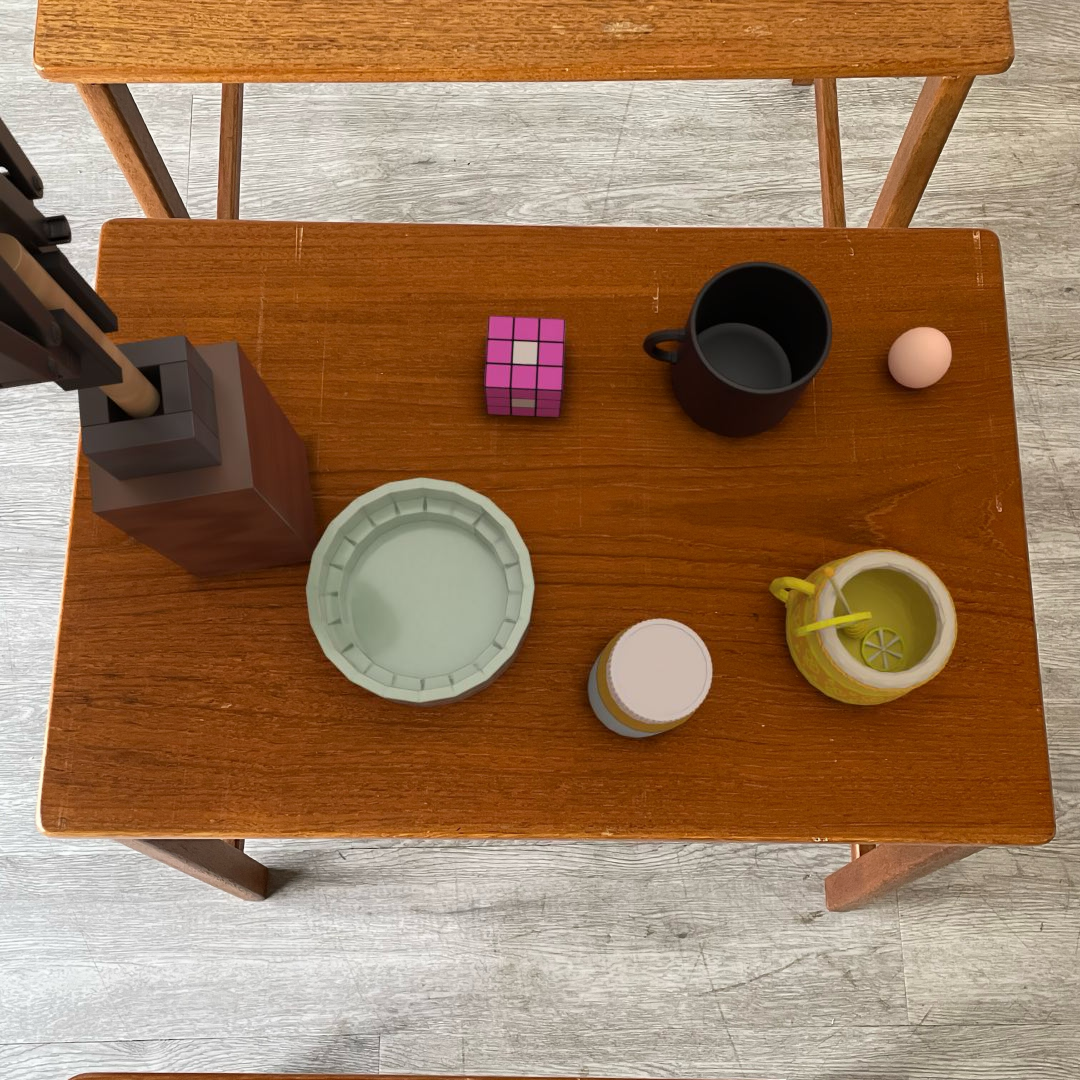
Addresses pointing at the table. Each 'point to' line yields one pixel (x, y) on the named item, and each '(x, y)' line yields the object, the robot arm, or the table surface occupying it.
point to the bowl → (421, 592)
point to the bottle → (650, 678)
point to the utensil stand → (201, 462)
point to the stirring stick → (135, 389)
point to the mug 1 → (747, 347)
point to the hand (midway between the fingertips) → (91, 353)
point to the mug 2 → (869, 625)
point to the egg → (920, 357)
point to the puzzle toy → (524, 366)
